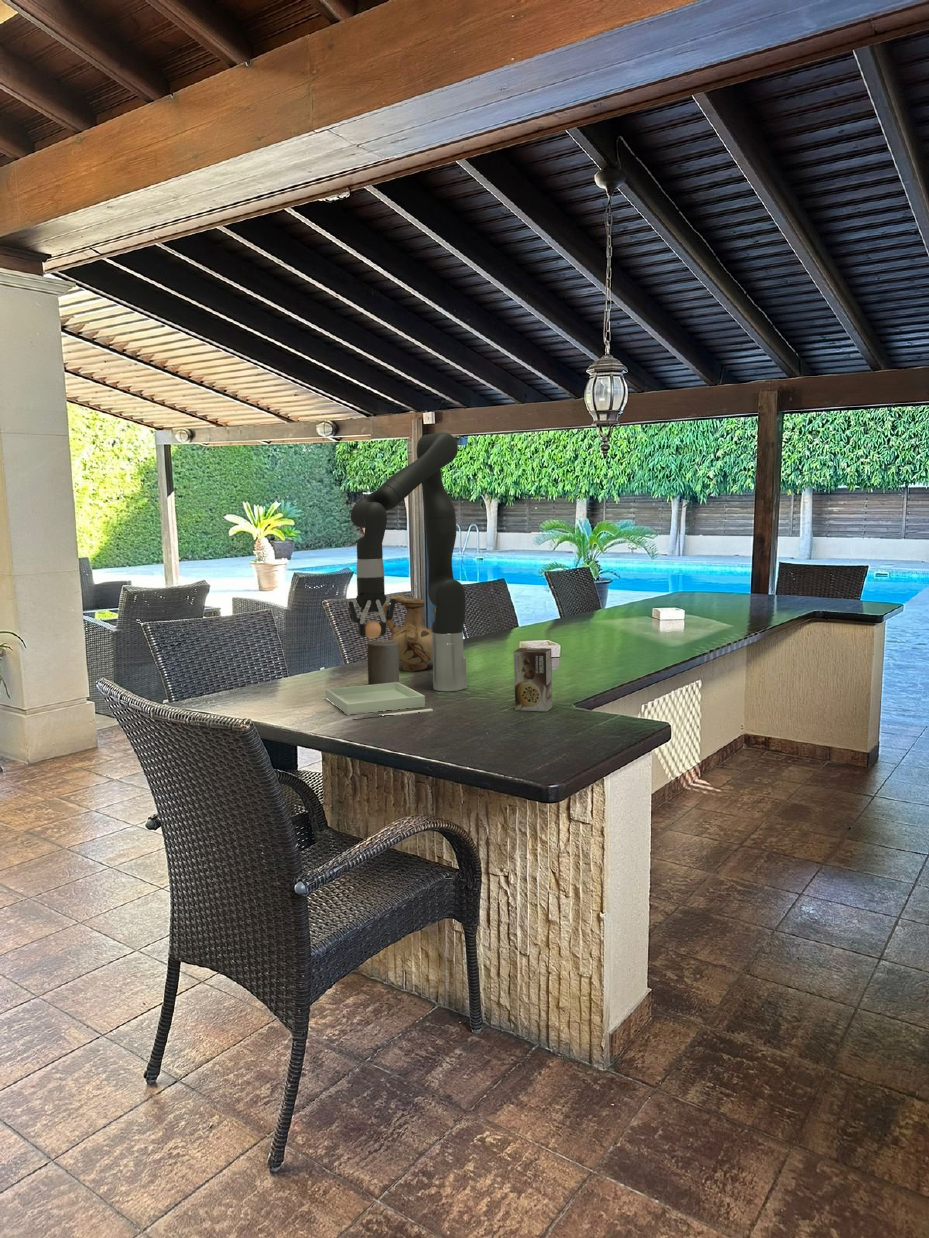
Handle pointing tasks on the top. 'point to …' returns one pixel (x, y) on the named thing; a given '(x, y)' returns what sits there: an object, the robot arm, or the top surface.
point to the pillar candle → (383, 661)
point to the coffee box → (533, 679)
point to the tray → (375, 697)
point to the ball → (372, 629)
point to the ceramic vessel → (412, 635)
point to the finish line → (408, 712)
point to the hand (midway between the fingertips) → (372, 636)
